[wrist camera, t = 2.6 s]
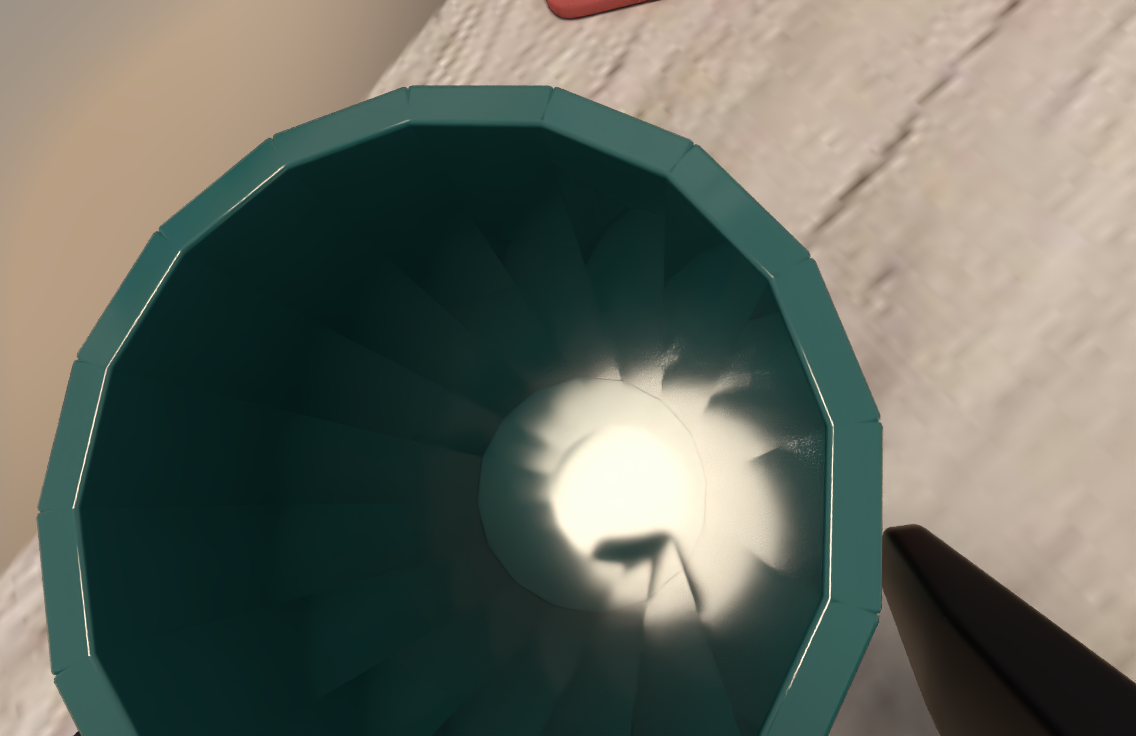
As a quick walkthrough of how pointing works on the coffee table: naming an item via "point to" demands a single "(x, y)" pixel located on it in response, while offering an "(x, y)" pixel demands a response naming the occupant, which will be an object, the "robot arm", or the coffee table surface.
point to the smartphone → (585, 6)
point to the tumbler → (465, 445)
